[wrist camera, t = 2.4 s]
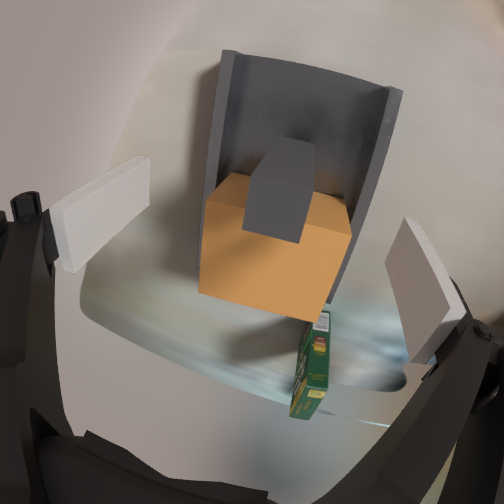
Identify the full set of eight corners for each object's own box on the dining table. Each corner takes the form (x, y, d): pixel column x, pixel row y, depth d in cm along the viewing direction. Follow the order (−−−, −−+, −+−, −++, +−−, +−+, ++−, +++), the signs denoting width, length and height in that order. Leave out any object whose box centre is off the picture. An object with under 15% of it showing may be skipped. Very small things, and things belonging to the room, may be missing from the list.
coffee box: (311, 305, 39) (304, 387, 28) (332, 309, 38) (330, 391, 27) (297, 343, 43) (286, 418, 32) (316, 346, 43) (309, 421, 32)
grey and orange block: (239, 121, 27) (164, 158, 14) (359, 149, 26) (401, 215, 13) (221, 251, 35) (167, 350, 22) (318, 275, 34) (310, 389, 21)
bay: (234, 54, 24) (222, 49, 21) (392, 90, 23) (403, 91, 20) (207, 252, 37) (196, 269, 34) (330, 283, 36) (330, 304, 33)
